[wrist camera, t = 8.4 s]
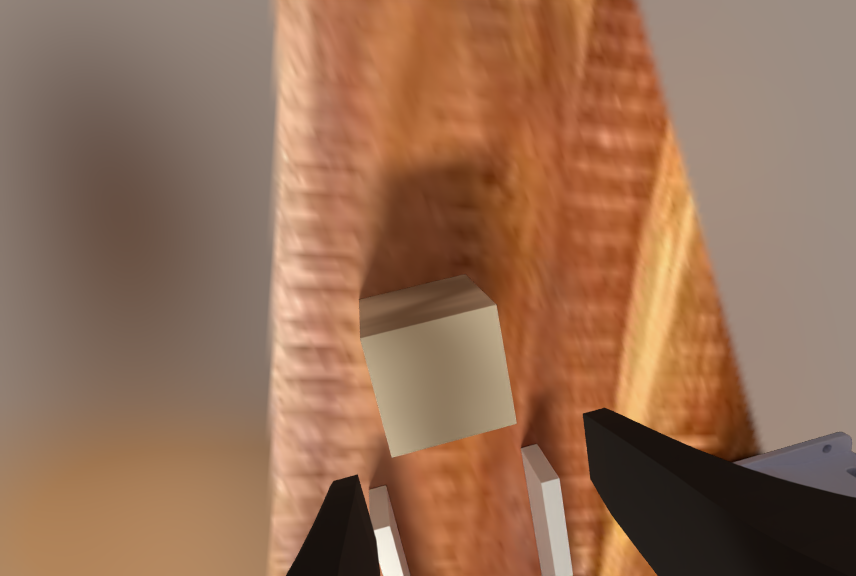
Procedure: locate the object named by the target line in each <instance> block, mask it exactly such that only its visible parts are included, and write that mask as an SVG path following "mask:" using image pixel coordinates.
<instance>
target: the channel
mask: <svg viewBox="0 0 856 576" xmlns="http://www.w3.org/2000/svg"><path fill="white" fill-rule="evenodd" d="M521 452H522V458H523V464H524V470H525V476H526V482H527V488H528V494H529V500H530V506H531V512H532V518H533V524H534V530H535V536H536V542H537V548H538V554H539V560H540V566H541V573H542V576H573V572H572V565H571V558H570V550H569V543H568V536H567V529H566V522H565V515H564V508H563V501H562V494H561V487H560V480H559V477H558V475H557V474H556V472H555V471H554V469H553V468H552V466H551V465H550V463H549V462H548V460H547V458H546V457H545V455H544V454H543V452H542V451H541V449H540V448H539V446H538V445H537V444H535V445H531V446H527V447H524V448H521ZM369 508H370V519H371V522H372V526H373V529H374V533H375V536H376V540H377V549H378V558H379V563H380V566H381V569H382V573H383V576H410V572H409V569H408V565H407V561H406V558H405V554H404V550H403V546H402V543H401V539H400V535H399V532H398V528H397V524H396V521H395V517H394V513H393V509H392V506H391V502H390V498H389V495H388V491H387V487H386V485H385V486H381V487H377V488H374V489H370V490H369Z"/></svg>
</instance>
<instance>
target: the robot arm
mask: <svg viewBox="0 0 856 576" xmlns="http://www.w3.org/2000/svg"><path fill="white" fill-rule="evenodd" d="M583 420H584V429H585V437H586V445H587V454H588V462H589V471H590V479H591V481H592V482H593V484H594V486H595V488H596V489H597V491H598V493H599V495H600V496H601V498H602V500H603V501H604V503H605V505H606V506H607V508H608V510H609V511H610V513H611V515H612V516H613V517H614V519H615V520H616V521H617V523H618V524H619V525H620V527H621V528H622V529H623V531H624V532H625V533H626V535H627V536H628V537H629V539H630V540H631V541H632V543H633V544H634V545H635V547H636V548H637V549H638V550H639V552H640V553H641V554H642V556H643V557H644V558H645V560H646V561H647V562H648V564H649V565H650V566H651V567H652V569H653V570H654V571H655V573H656V574H657V575H658V576H856V453H854V452H852V451H851V448H852V439H851V437H850V436H849V435H847V434H845V433H843V432H836V433H833V434H830V435H826V436H823V437H819V438H816V439H812V440H809V441H805V442H802V443H799V444H795V445H792V446H788V447H785V448H781V449H778V450H774V451H771V452H767V453H764V454H760V455H757V456H754V457H750V458H747V459H743V460H740V461H736V462H733V463H732V462H729V461H726V460H724V459H721V458H718V457H716V456H713V455H711V454H708V453H706V452H703V451H700V450H698V449H696V448H693V447H691V446H688V445H686V444H684V443H681V442H679V441H677V440H675V439H672V438H670V437H668V436H666V435H663V434H661V433H659V432H657V431H655V430H652V429H650V428H648V427H646V426H644V425H642V424H640V423H638V422H635V421H633V420H631V419H629V418H627V417H625V416H623V415H620V414H618V413H616V412H614V411H611V410H609V409H607V408H602V409H598V410H595V411H591V412H587V413H583ZM286 576H380V567H379V558H378V549H377V540H376V536H375V533H374V529H373V526H372V522H371V519H370V515H369V512H368V509H367V505H366V502H365V498H364V495H363V491H362V488H361V484H360V481H359V477H358V475H354V476H350V477H347V478H343V479H339V480H336V481H333V483H332V484H331V486H330V488H329V490H328V493H327V495H326V497H325V499H324V502H323V504H322V506H321V508H320V511H319V513H318V515H317V517H316V519H315V521H314V524H313V526H312V528H311V530H310V532H309V534H308V536H307V538H306V540H305V542H304V544H303V545H302V547H301V549H300V551H299V553H298V555H297V557H296V559H295V561H294V562H293V564H292V566H291V568H290V569H289V571H288V573H287V575H286Z"/></svg>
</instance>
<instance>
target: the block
mask: <svg viewBox="0 0 856 576" xmlns="http://www.w3.org/2000/svg"><path fill="white" fill-rule="evenodd" d="M359 316H360V340H361V344H362V348H363V351H364V355H365V359H366V363H367V366H368V370H369V374H370V378H371V381H372V385H373V389H374V393H375V396H376V400H377V404H378V408H379V412H380V415H381V419H382V423H383V427H384V430H385V434H386V438H387V442H388V445H389V449H390V453H391V457H392V458H393V457H396V456H400V455H404V454H407V453H411V452H415V451H418V450H422V449H426V448H429V447H433V446H437V445H440V444H444V443H448V442H451V441H455V440H459V439H462V438H466V437H470V436H473V435H477V434H480V433H484V432H488V431H491V430H495V429H499V428H502V427H506V426H510V425H513V424H517V422H516V417H515V411H514V405H513V399H512V393H511V387H510V381H509V376H508V370H507V364H506V358H505V352H504V346H503V340H502V335H501V329H500V323H499V317H498V311H497V305H496V304H495V303H494V302H493V301H492V300H491V299H490V298H489V297H488V296H487V295H486V294H485V293H484V292H483V291H482V290H481V289H480V288H479V287H478V286H477V285H476V284H475V283H474V282H473V281H472V280H471V279H470V278H469V277H468V276H467V275H466V274H464V275H459V276H455V277H451V278H447V279H443V280H439V281H434V282H430V283H426V284H422V285H418V286H414V287H409V288H405V289H401V290H397V291H393V292H389V293H384V294H380V295H376V296H372V297H368V298H364V299H359Z"/></svg>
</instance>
